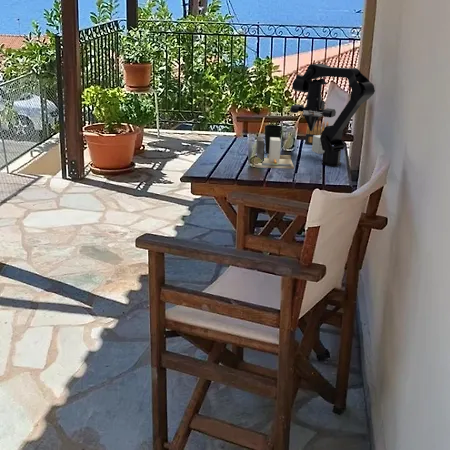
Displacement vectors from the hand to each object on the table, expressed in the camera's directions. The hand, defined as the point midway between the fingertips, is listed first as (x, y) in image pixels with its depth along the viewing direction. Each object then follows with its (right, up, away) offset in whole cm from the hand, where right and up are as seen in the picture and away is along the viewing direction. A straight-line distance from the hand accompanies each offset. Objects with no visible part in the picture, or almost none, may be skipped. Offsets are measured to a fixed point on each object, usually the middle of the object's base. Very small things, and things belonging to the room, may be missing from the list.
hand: (311, 130), depth 276 cm
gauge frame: (-17, -15, -8) cm, 24 cm away
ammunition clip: (+6, -3, +29) cm, 30 cm away
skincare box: (+6, -8, +16) cm, 19 cm away
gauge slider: (-16, -14, -9) cm, 23 cm away
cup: (-16, -9, +10) cm, 21 cm away
